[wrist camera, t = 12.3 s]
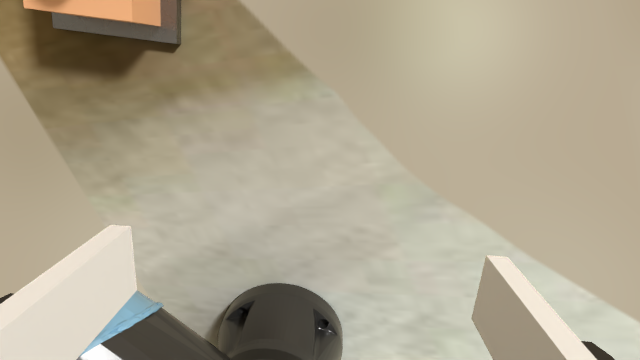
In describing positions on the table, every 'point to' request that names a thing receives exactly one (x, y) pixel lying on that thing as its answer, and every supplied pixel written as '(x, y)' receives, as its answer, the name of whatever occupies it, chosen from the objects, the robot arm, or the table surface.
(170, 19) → the post base
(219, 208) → the table surface
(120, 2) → the orange bottle-shaped mold
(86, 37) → the table surface
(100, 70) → the table surface
